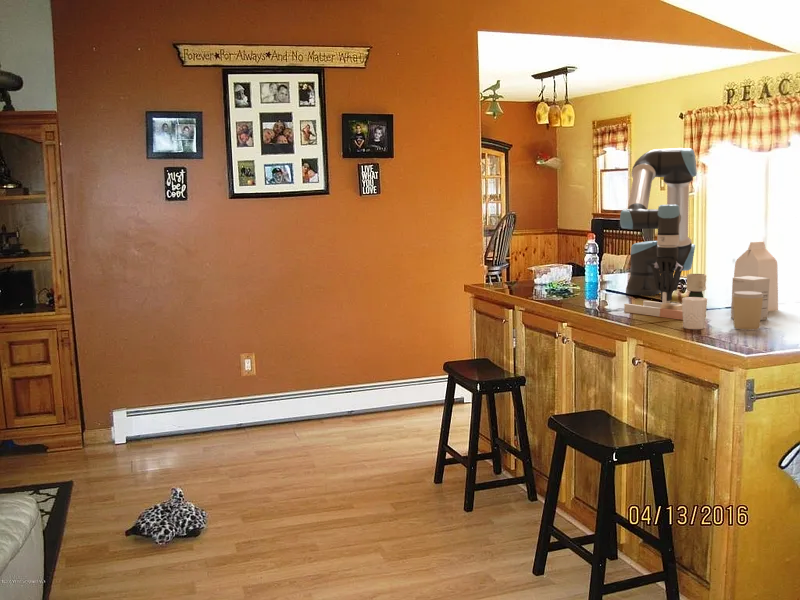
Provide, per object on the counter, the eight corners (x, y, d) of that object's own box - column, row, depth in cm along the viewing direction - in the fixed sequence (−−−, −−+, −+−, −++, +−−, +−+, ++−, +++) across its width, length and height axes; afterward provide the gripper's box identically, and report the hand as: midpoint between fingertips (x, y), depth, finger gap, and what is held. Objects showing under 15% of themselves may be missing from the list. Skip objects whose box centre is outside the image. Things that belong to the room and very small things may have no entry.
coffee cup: (760, 326, 263) (761, 291, 261) (763, 331, 254) (765, 294, 252) (730, 325, 266) (731, 290, 264) (732, 330, 257) (734, 294, 255)
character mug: (710, 309, 300) (712, 275, 298) (693, 309, 300) (694, 276, 298) (697, 304, 311) (698, 272, 309) (680, 305, 310) (681, 273, 308)
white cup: (677, 326, 266) (678, 297, 265) (699, 325, 267) (700, 296, 265) (687, 330, 258) (688, 300, 257) (710, 329, 259) (711, 299, 258)
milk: (756, 312, 289) (759, 243, 286) (730, 309, 299) (733, 241, 296) (778, 310, 295) (781, 241, 291) (752, 306, 305) (755, 240, 301)
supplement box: (729, 318, 279) (731, 277, 277) (746, 316, 283) (747, 275, 281) (752, 322, 271) (753, 279, 269) (768, 319, 275) (770, 277, 273)
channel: (624, 311, 298) (624, 303, 298) (645, 308, 306) (645, 300, 305) (683, 320, 278) (683, 311, 277) (704, 315, 285) (705, 307, 285)
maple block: (660, 316, 288) (660, 304, 287) (672, 314, 292) (672, 302, 291) (676, 318, 282) (676, 306, 282) (688, 316, 286) (688, 304, 285)
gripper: (646, 246, 290) (645, 308, 294) (676, 247, 280) (675, 312, 283) (658, 244, 295) (657, 306, 298) (689, 246, 284) (687, 310, 288)
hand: (665, 309), depth 291 cm, fingers closed
